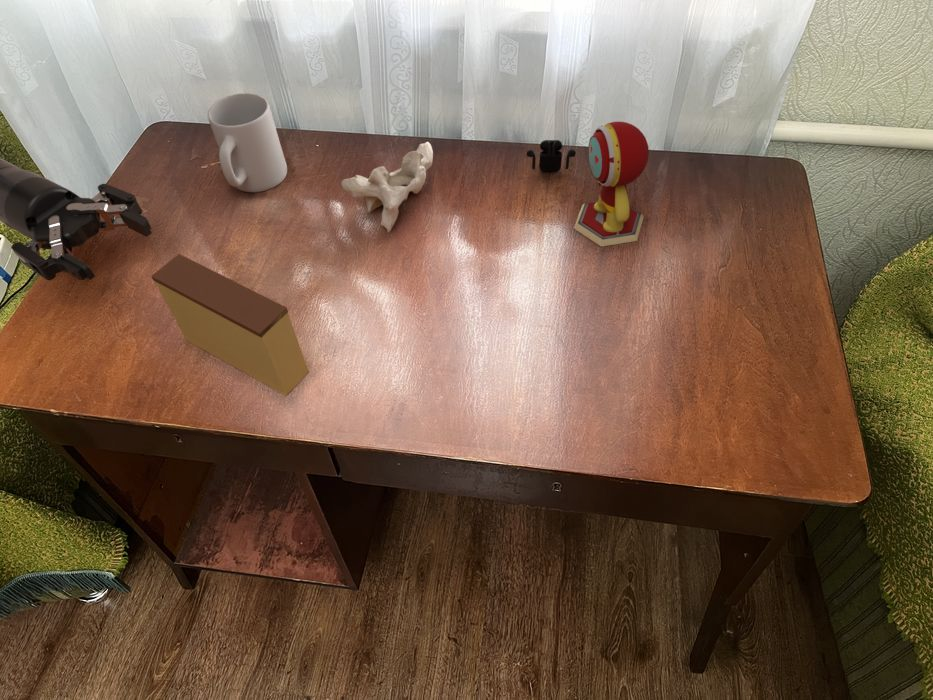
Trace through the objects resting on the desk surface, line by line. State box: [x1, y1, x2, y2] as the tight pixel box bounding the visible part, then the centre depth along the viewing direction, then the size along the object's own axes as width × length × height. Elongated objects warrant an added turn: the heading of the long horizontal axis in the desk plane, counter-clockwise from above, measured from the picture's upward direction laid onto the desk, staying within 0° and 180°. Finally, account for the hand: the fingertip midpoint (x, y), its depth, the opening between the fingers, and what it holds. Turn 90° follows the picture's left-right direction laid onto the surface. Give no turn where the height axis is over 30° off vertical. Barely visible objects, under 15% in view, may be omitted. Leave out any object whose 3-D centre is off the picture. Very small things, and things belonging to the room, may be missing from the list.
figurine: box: [573, 120, 650, 248], centre depth 89 cm, size 9×10×15 cm
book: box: [150, 253, 310, 397], centre depth 78 cm, size 16×4×11 cm, turn 58°
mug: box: [207, 92, 288, 193], centre depth 99 cm, size 12×8×11 cm
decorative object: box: [340, 141, 434, 234], centre depth 96 cm, size 9×14×8 cm, turn 140°
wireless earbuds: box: [526, 139, 577, 172], centre depth 101 cm, size 7×2×5 cm, turn 88°
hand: (119, 250), depth 82 cm, fingers open, 8 cm apart
